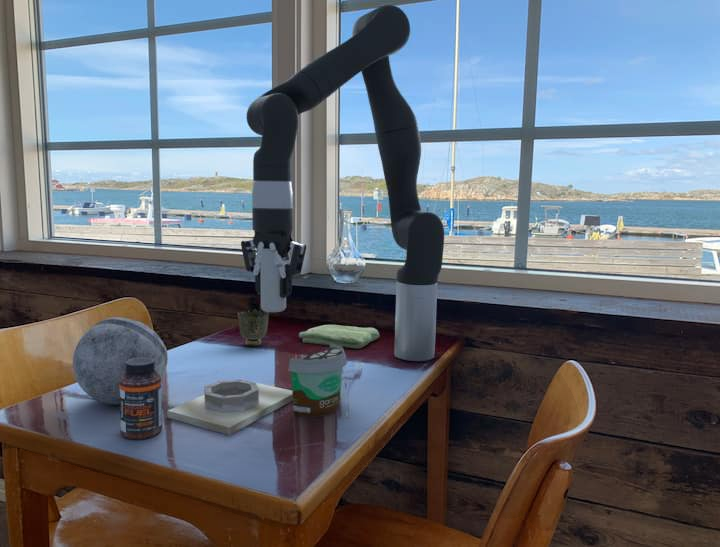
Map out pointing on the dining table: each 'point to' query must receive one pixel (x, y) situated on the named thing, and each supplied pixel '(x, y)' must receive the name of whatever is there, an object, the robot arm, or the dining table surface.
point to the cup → (253, 326)
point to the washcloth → (340, 336)
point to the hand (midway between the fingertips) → (273, 295)
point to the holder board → (233, 418)
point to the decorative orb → (114, 355)
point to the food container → (317, 382)
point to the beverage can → (270, 283)
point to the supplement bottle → (140, 399)
